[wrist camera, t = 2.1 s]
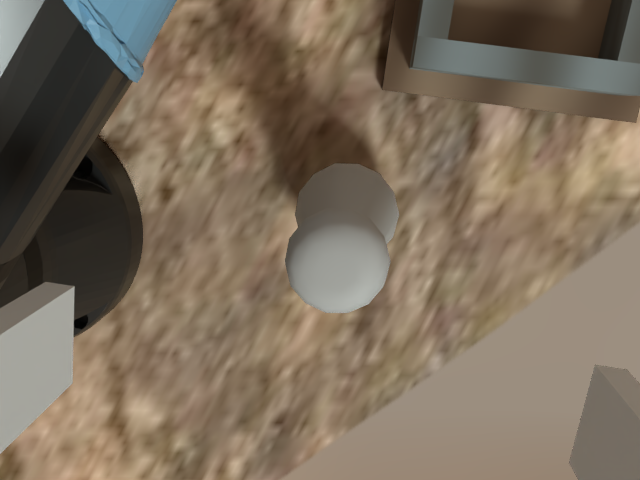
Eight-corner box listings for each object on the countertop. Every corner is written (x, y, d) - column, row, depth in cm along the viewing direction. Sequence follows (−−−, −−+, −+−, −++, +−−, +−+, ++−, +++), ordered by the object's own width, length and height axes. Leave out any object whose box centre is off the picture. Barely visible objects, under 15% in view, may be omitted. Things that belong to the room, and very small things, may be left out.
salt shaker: (311, 148, 35) (279, 180, 23) (406, 169, 35) (426, 213, 22) (292, 241, 37) (251, 319, 24) (383, 262, 36) (389, 352, 24)
